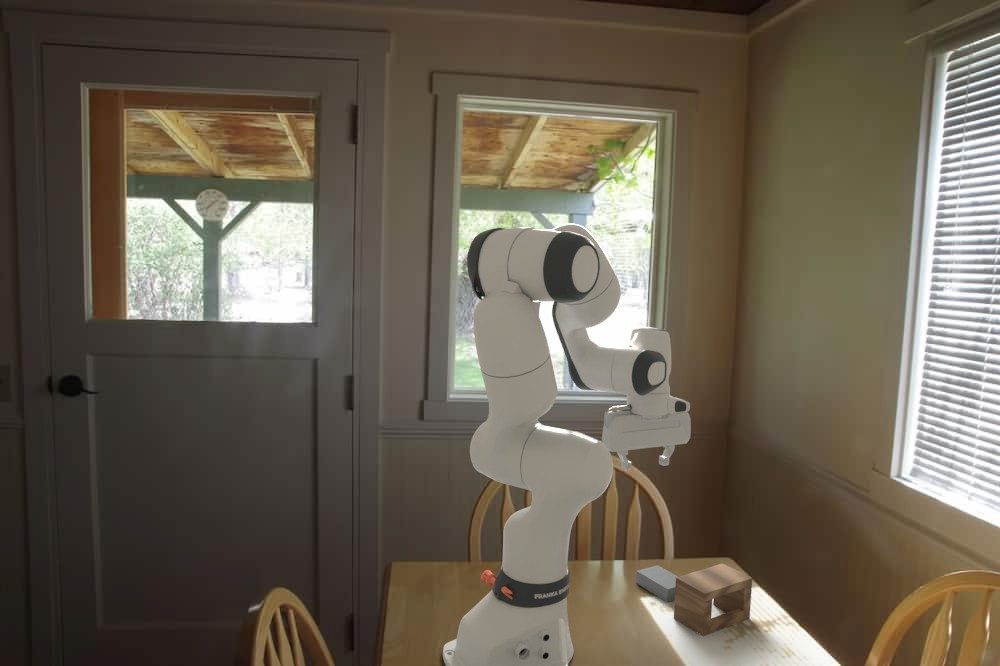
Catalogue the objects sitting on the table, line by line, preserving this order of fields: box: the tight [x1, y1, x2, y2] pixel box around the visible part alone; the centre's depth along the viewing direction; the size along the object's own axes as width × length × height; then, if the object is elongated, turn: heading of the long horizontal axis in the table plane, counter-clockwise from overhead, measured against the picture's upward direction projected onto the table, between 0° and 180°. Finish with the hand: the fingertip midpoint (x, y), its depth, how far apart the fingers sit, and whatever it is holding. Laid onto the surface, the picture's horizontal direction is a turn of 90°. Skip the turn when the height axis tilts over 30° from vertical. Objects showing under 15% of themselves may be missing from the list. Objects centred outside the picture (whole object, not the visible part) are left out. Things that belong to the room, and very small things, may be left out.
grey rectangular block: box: [635, 564, 679, 603], centre depth 133 cm, size 6×9×3 cm, turn 30°
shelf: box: [673, 563, 753, 637], centre depth 122 cm, size 13×7×8 cm, turn 121°
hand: (645, 467), depth 136 cm, fingers open, 8 cm apart
